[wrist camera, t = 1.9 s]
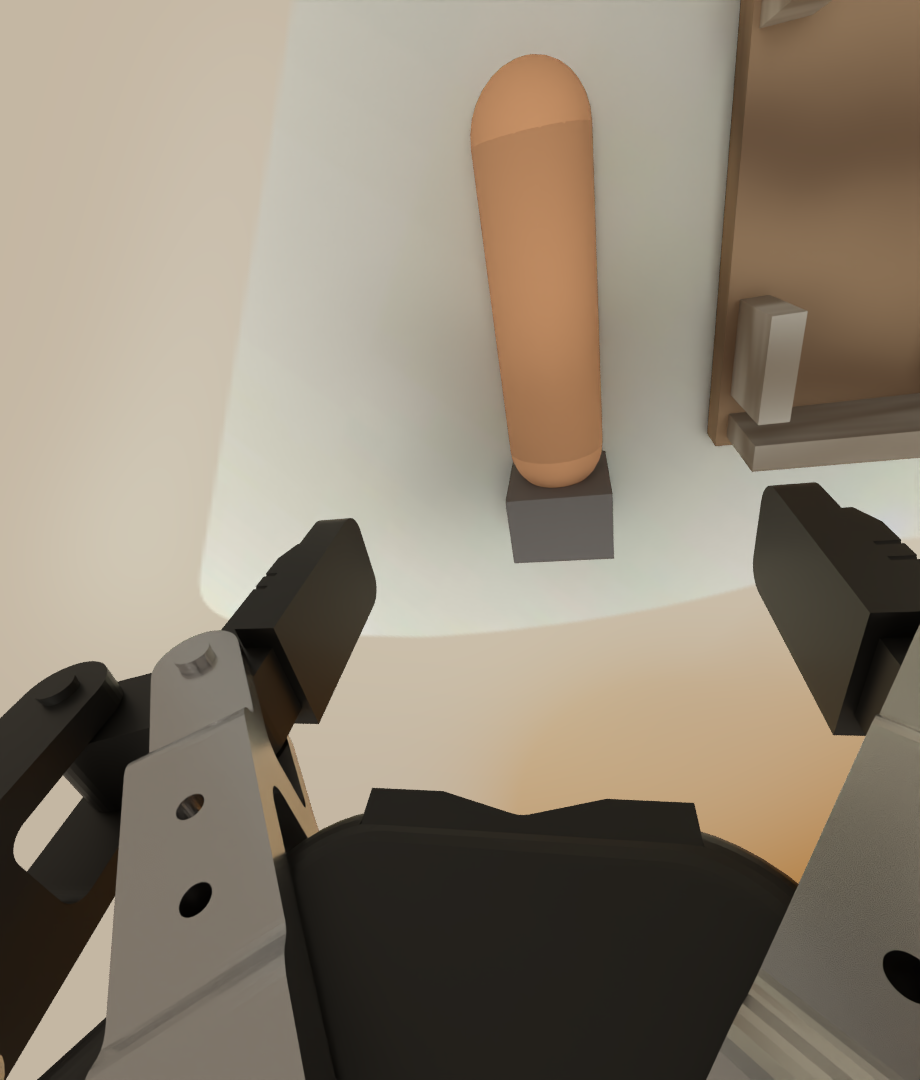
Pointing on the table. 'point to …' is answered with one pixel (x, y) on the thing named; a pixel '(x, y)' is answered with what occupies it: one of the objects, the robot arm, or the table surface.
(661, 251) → the table surface
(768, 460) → the brown pegged board
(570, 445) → the tan rounded rod
